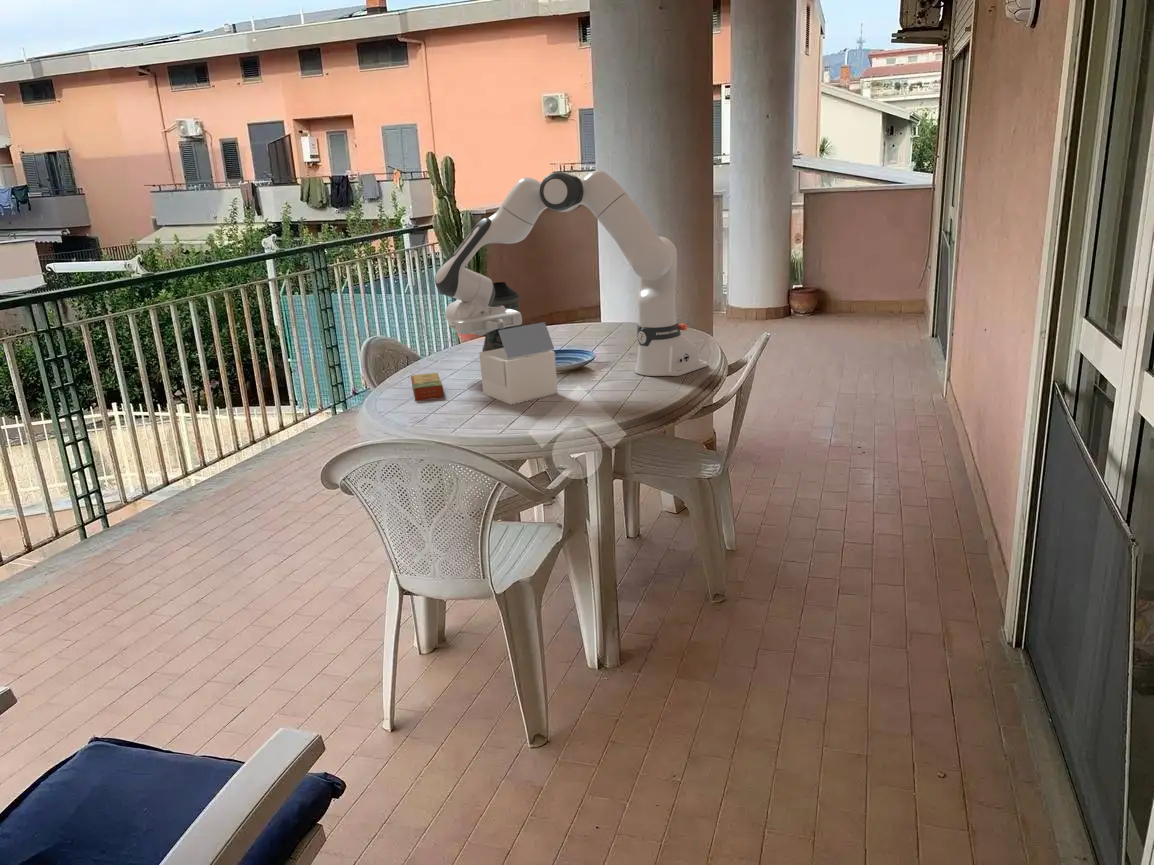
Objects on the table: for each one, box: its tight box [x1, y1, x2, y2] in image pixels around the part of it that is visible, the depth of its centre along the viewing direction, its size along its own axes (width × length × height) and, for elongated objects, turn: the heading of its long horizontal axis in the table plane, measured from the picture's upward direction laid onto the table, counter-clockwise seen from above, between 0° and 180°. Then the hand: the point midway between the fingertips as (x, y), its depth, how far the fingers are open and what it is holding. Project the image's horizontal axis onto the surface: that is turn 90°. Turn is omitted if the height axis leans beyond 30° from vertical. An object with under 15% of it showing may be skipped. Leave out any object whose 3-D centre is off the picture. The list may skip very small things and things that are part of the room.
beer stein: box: [481, 281, 524, 352], centre depth 275 cm, size 16×19×25 cm
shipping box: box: [479, 348, 559, 406], centre depth 231 cm, size 16×17×12 cm
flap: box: [498, 321, 555, 358], centre depth 223 cm, size 14×8×1 cm
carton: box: [410, 372, 445, 402], centre depth 240 cm, size 8×16×4 cm, turn 14°
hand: (500, 325), depth 233 cm, fingers closed
